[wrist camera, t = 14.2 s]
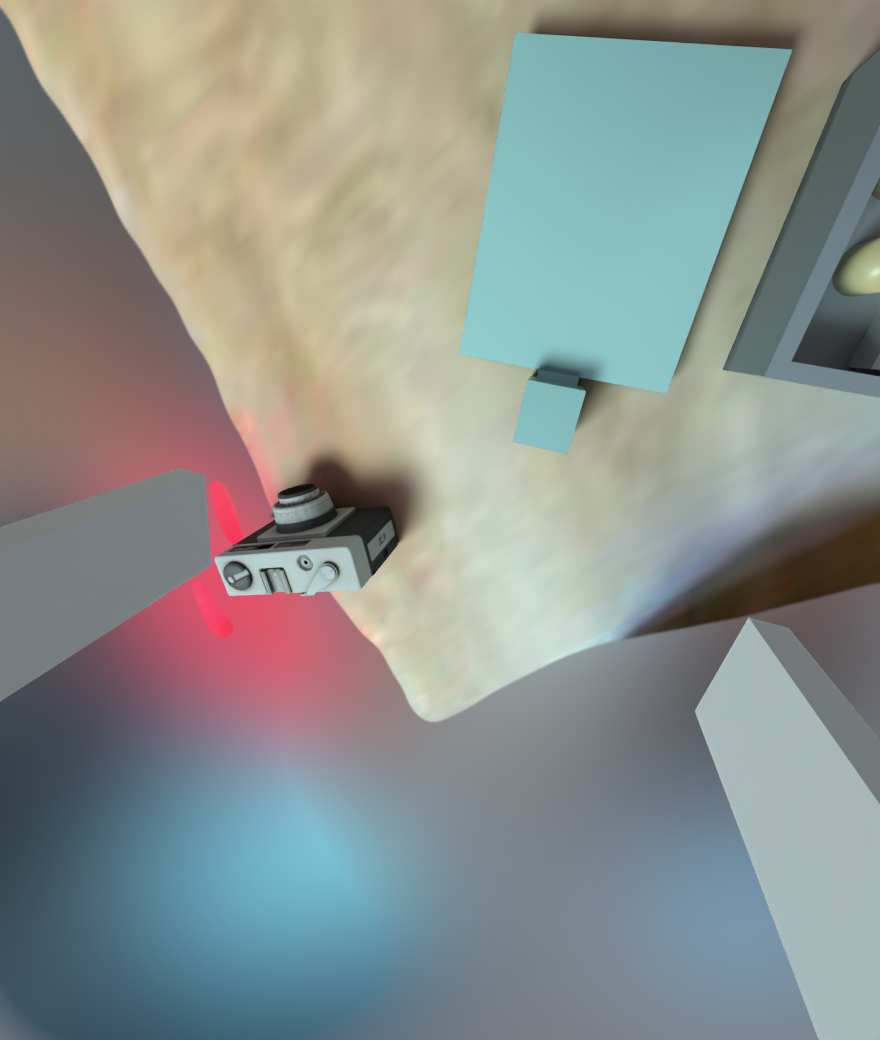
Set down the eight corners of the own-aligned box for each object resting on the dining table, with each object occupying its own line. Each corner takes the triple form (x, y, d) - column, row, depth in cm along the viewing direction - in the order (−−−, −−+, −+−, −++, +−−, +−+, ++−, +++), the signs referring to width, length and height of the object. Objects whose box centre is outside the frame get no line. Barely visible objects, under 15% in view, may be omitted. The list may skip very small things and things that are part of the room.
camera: (382, 469, 41) (334, 504, 32) (400, 545, 44) (361, 597, 35) (263, 484, 45) (191, 519, 37) (286, 553, 48) (225, 601, 39)
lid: (519, 65, 28) (511, -4, 23) (765, 83, 26) (822, 11, 20) (456, 415, 37) (439, 426, 32) (633, 453, 35) (648, 471, 30)
